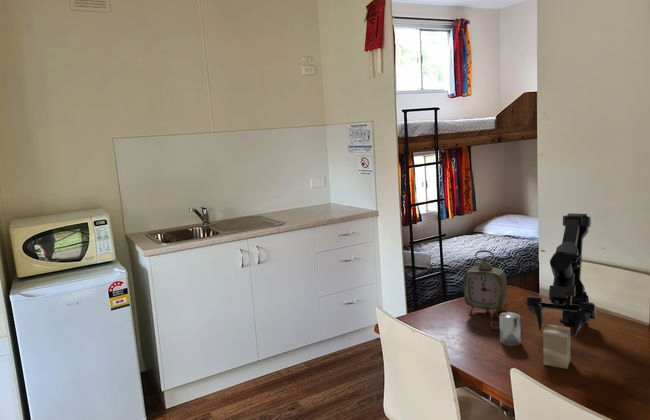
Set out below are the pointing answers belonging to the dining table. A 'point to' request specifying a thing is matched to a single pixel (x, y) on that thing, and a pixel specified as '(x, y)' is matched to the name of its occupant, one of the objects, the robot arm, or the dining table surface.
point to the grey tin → (509, 328)
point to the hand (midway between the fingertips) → (557, 333)
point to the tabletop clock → (485, 286)
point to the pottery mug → (501, 310)
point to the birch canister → (556, 346)
